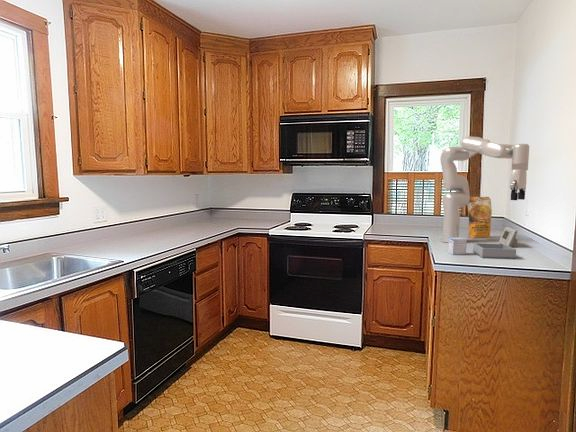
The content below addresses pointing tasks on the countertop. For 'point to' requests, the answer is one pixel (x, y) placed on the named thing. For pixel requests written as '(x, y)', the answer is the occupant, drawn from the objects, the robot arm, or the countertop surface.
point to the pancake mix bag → (479, 217)
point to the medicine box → (457, 246)
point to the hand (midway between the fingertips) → (517, 199)
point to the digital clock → (509, 237)
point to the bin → (494, 251)
